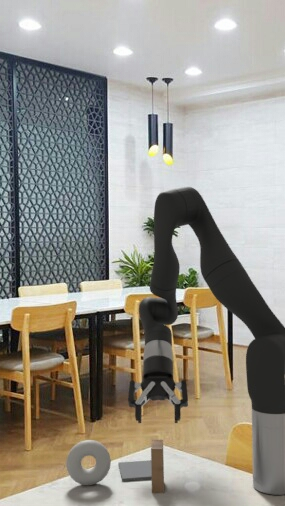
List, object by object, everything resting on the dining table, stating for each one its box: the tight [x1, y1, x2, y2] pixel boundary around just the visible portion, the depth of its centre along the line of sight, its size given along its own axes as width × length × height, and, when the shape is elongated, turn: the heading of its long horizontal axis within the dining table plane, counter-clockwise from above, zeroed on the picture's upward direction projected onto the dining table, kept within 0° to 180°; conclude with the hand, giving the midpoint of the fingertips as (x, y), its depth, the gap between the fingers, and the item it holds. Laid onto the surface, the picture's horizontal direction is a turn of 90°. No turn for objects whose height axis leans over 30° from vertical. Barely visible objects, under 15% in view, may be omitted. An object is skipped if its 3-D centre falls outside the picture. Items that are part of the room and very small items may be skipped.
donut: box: [65, 439, 112, 486], centre depth 136 cm, size 10×4×10 cm, turn 98°
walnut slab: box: [150, 439, 165, 494], centre depth 134 cm, size 6×2×10 cm, turn 177°
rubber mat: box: [117, 459, 152, 482], centre depth 143 cm, size 9×10×1 cm
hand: (158, 421), depth 142 cm, fingers open, 8 cm apart
